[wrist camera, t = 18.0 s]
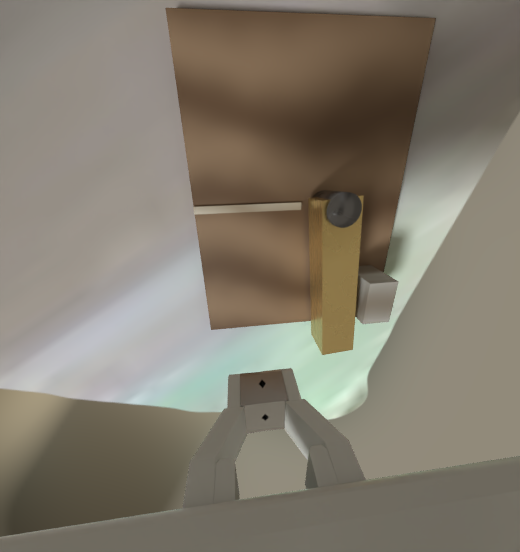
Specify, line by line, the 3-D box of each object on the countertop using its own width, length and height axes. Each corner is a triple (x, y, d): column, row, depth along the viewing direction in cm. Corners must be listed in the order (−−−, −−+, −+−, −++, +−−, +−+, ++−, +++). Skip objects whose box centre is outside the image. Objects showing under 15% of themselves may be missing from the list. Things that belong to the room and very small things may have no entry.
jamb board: (169, 18, 14) (140, -57, 10) (424, 27, 16) (500, -34, 12) (212, 324, 24) (207, 357, 19) (369, 309, 26) (399, 337, 21)
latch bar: (306, 192, 19) (324, 195, 15) (340, 188, 19) (367, 189, 15) (309, 330, 24) (323, 358, 21) (336, 326, 25) (354, 352, 21)
